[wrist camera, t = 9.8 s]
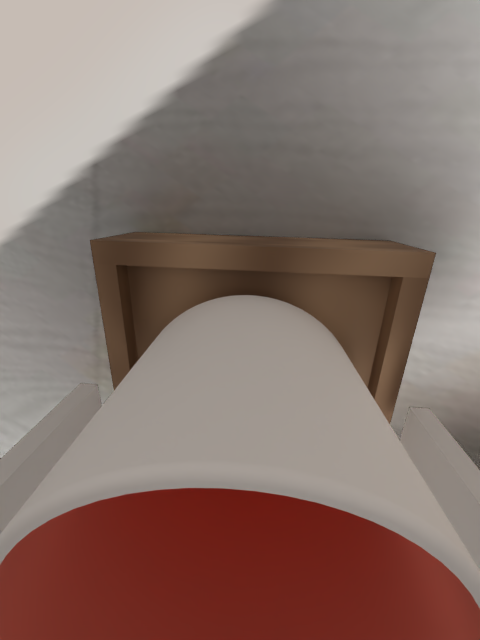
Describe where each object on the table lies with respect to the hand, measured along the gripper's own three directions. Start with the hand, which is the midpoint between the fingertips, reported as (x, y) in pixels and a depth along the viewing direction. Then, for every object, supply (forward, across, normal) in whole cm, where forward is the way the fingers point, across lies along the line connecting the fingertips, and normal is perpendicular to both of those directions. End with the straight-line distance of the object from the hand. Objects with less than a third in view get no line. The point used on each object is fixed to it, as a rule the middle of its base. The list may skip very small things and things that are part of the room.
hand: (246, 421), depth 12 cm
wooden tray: (+7, 0, 0) cm, 7 cm away
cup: (+3, 0, 0) cm, 3 cm away
